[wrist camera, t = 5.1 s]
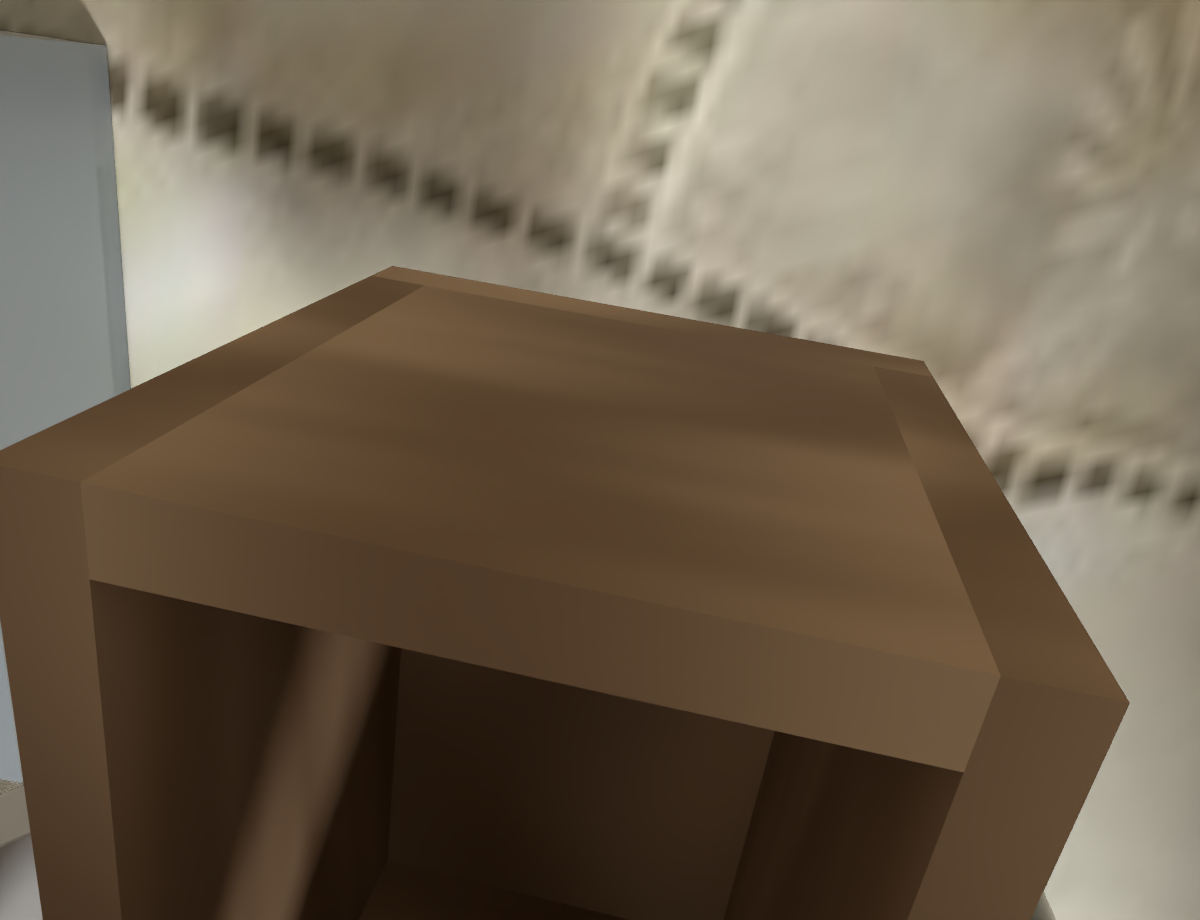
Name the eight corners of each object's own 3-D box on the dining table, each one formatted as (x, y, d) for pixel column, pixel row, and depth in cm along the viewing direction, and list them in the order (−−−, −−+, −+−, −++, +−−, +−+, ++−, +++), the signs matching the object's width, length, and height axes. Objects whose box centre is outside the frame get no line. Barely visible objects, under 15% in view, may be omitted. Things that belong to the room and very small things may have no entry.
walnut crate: (923, 360, 10) (1129, 702, 4) (751, 945, 13) (746, 1541, 8) (391, 266, 10) (-22, 461, 5) (362, 849, 14) (103, 1343, 8)
